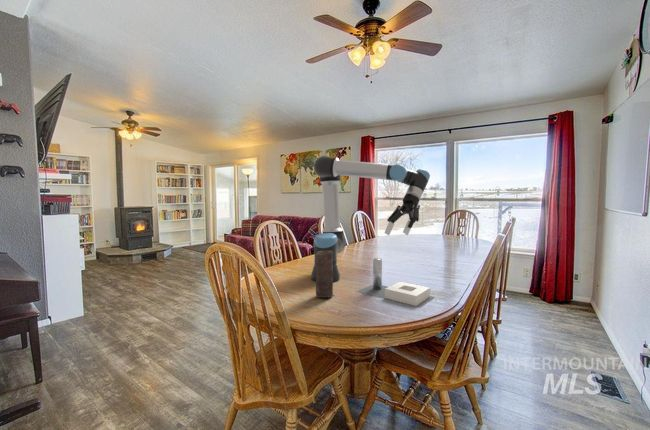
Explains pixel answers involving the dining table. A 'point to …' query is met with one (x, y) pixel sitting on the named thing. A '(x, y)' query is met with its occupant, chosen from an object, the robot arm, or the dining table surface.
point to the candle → (324, 274)
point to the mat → (381, 294)
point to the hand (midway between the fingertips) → (395, 233)
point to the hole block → (407, 293)
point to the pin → (377, 273)
